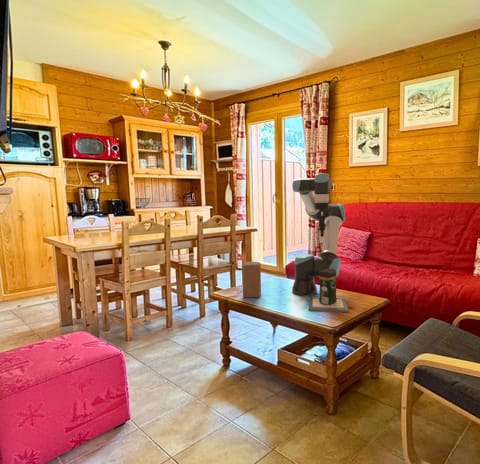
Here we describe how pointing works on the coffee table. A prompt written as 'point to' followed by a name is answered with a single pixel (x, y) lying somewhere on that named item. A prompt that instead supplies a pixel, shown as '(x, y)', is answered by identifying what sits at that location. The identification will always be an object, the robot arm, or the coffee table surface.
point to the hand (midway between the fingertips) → (321, 240)
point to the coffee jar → (327, 286)
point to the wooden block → (251, 279)
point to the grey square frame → (335, 307)
